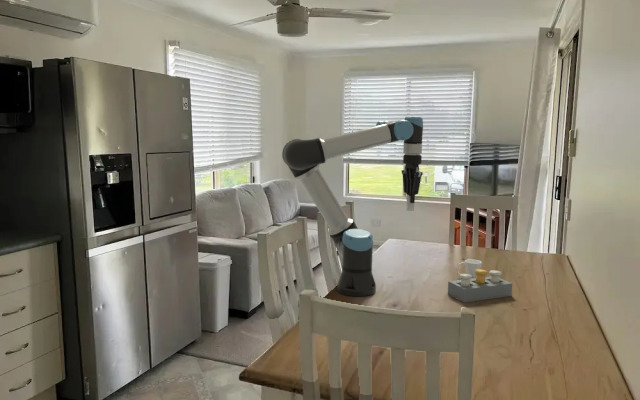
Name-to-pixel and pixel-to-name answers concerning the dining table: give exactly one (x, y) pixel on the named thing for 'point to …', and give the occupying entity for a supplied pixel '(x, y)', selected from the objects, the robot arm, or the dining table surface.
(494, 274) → the far plug
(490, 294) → the board
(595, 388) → the dining table surface
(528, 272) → the dining table surface
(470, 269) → the cup
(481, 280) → the ochre plug
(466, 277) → the near plug
